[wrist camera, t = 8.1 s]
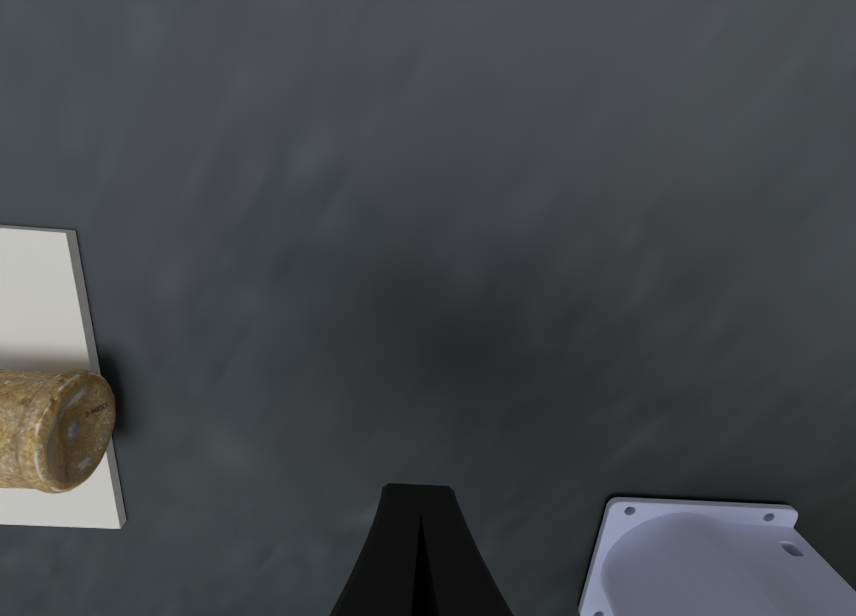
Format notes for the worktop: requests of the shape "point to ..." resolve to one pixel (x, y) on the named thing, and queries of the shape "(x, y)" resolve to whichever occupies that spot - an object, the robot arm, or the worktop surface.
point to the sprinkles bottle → (53, 428)
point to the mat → (52, 363)
